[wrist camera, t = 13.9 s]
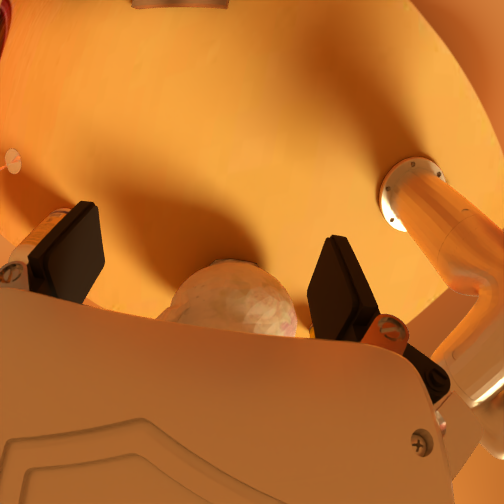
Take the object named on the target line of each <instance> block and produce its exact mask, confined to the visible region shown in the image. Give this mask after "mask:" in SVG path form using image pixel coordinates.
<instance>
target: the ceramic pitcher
mask: <svg viewBox="0 0 504 504" xmlns="http://www.w3.org/2000/svg"><path fill="white" fill-rule="evenodd" d="M156 319H158V320H163V321H169V322H175V323H182V324H188V325H195V326H201V327H208V328H216V329H223V330H231V331H239V332H248V333H257V334H266V335H277V336H288V337H295V333H296V328H297V317H296V313H295V309H294V306H293V303H292V300H291V298H290V296H289V295H288V293H287V291H286V289H285V288H284V287H283V286H282V285H281V284H280V282H279V281H278V280H277V279H276V278H274V277H273V276H272V275H270V274H269V273H267V272H266V271H264V270H262V269H260V267H259V266H258V265H257V263H252V262H247V261H241V260H235V259H223V260H216V261H214V262H213V263H212V264H211V265H210V266H208V267H205V268H203V269H201V270H199V271H197V272H196V273H194V274H193V275H191V276H190V277H189V278H188V279H187V280H186V281H184V282H183V283H182V285H181V286H180V287H179V289H178V291H177V292H176V294H175V295H174V297H173V299H172V302H171V305H170V307H168V308H167V309H166V310H165V311H163V312H162V313H161V314H160V315H159V316H158V317H157V318H156Z"/></svg>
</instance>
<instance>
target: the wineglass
mask: <svg viewBox="0 0 504 504" xmlns="http://www.w3.org/2000/svg"><path fill="white" fill-rule="evenodd" d="M5 167H7V169H8V171H9V172H10V173H12V174H17V173H18V172H19V171H20V169H21V158H20V155H19V153H18V152H17V151H16V150H15V149H12V148H11V149H9V150H8V151H7V152H6V155H5V165H4V166H2V167H0V171H1V170H2V169H4V168H5Z"/></svg>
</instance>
